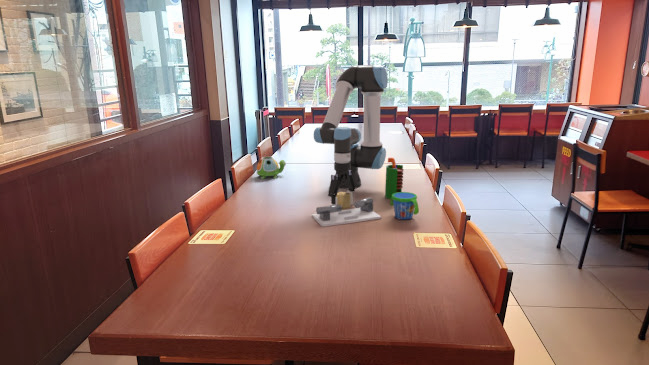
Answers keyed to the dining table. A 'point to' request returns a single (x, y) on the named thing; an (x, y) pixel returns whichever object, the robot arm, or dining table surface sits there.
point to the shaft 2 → (365, 204)
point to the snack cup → (404, 204)
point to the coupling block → (343, 200)
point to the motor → (393, 178)
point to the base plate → (347, 217)
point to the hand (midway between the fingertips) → (342, 207)
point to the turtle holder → (269, 167)
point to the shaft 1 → (328, 211)
